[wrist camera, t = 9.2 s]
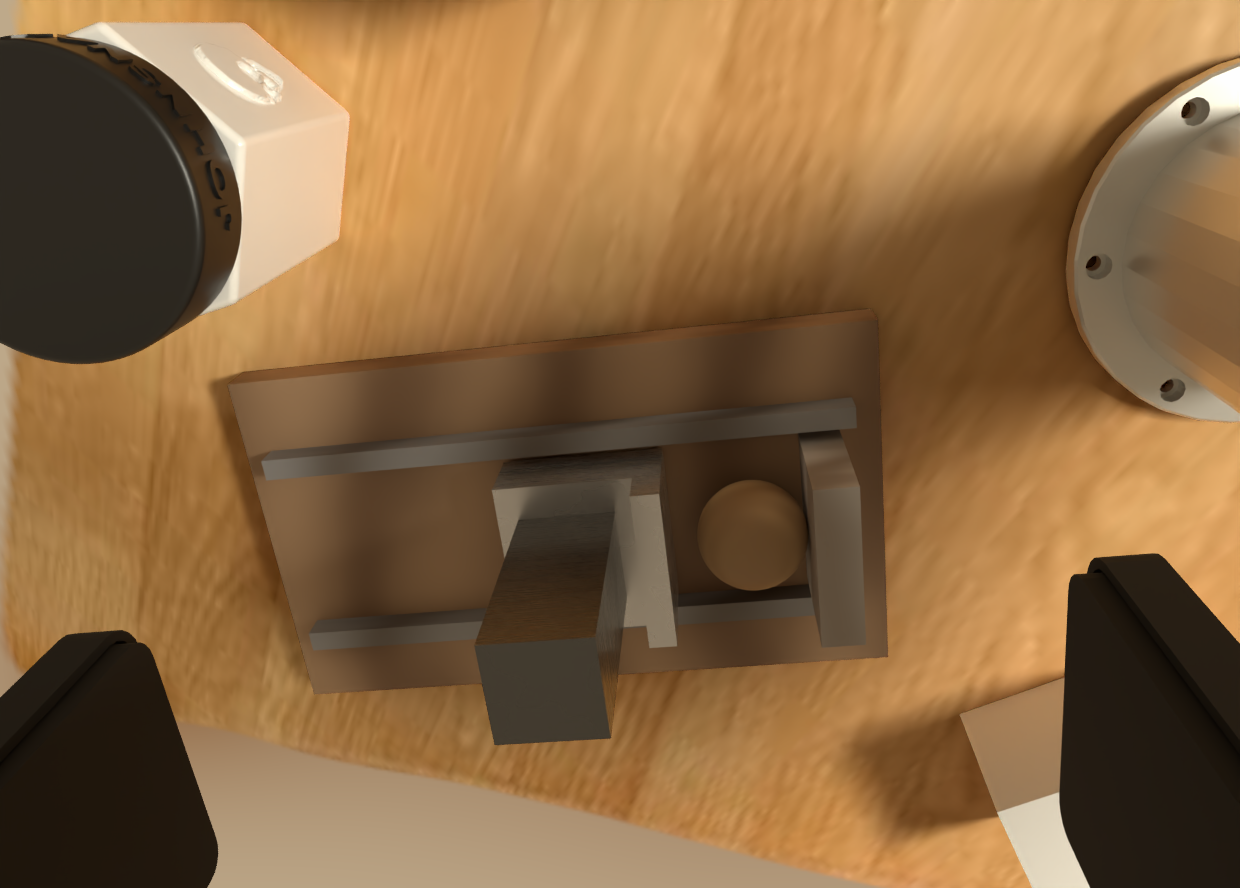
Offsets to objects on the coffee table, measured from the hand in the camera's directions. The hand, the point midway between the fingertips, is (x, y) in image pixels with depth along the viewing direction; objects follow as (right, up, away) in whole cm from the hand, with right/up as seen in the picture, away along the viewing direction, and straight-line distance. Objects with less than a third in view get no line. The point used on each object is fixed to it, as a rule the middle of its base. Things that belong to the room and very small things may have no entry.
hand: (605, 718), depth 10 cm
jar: (-14, +13, +26) cm, 32 cm away
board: (-2, 0, +31) cm, 31 cm away
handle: (-1, 0, +29) cm, 29 cm away
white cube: (+19, -10, +34) cm, 40 cm away
